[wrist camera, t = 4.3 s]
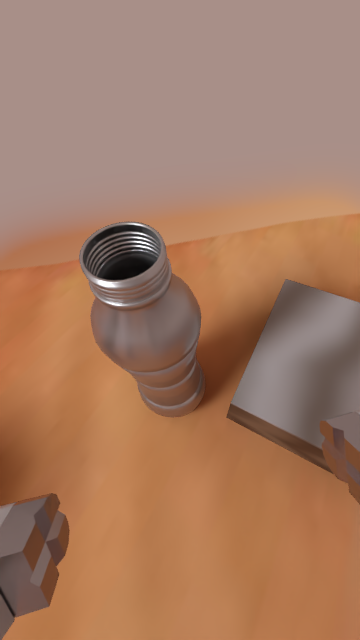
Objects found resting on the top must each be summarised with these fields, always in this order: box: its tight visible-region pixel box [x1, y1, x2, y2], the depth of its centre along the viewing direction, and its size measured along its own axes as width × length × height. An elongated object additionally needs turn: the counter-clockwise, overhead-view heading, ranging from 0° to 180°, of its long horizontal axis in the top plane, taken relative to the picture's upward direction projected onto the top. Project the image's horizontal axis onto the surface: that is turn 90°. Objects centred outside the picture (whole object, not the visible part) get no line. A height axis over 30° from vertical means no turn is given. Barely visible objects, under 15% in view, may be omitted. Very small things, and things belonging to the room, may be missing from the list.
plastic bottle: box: [79, 222, 206, 417], centre depth 19 cm, size 6×7×20 cm
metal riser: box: [227, 279, 360, 474], centre depth 24 cm, size 14×14×6 cm
